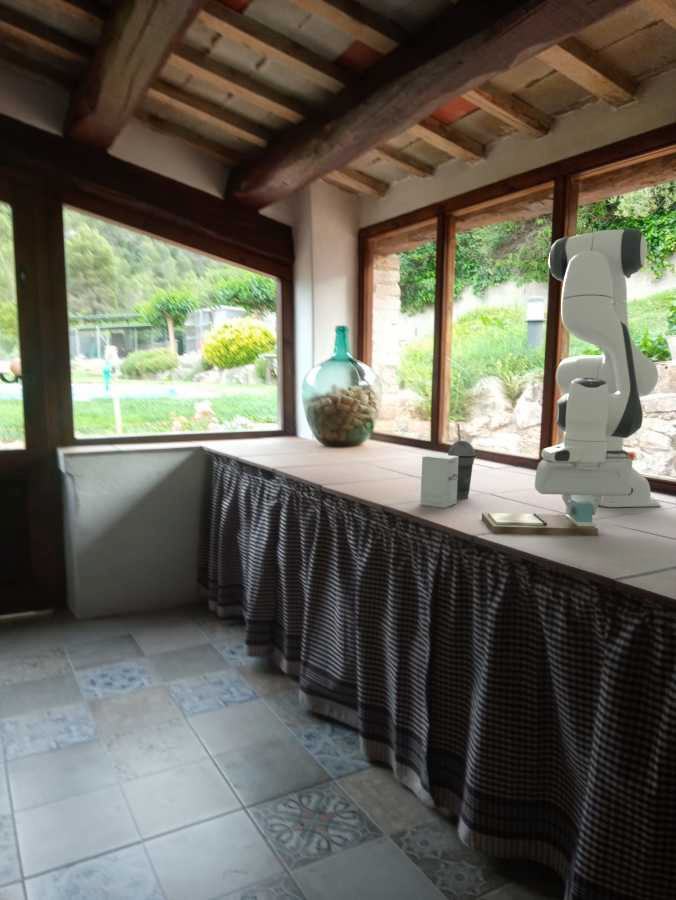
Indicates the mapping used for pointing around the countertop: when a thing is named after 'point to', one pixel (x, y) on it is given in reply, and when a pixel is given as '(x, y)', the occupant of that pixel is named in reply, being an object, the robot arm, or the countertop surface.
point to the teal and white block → (581, 513)
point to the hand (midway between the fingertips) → (580, 514)
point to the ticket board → (535, 524)
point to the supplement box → (439, 480)
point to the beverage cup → (463, 465)
